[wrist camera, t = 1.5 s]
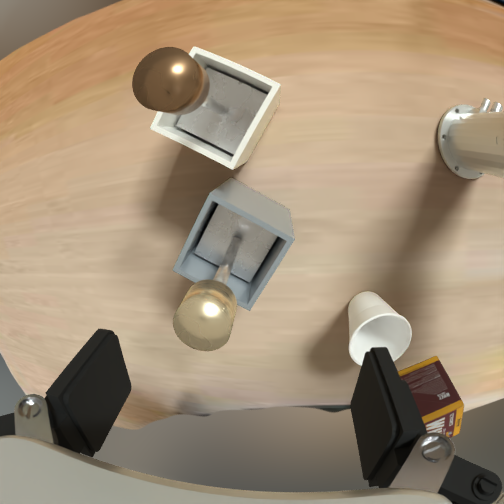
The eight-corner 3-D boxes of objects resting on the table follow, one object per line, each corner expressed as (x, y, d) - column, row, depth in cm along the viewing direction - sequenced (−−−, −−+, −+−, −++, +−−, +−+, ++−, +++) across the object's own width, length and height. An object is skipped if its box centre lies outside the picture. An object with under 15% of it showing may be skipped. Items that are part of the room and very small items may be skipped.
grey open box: (231, 177, 45) (209, 192, 31) (289, 209, 46) (294, 239, 32) (202, 233, 49) (172, 270, 35) (257, 263, 50) (249, 311, 36)
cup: (331, 328, 53) (341, 367, 42) (343, 277, 49) (358, 311, 39) (382, 330, 52) (399, 368, 42) (396, 282, 49) (420, 315, 39)
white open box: (219, 74, 40) (193, 46, 26) (279, 103, 41) (280, 84, 27) (188, 132, 43) (149, 128, 29) (247, 161, 44) (232, 169, 30)
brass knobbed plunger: (222, 196, 37) (169, 251, 19) (281, 228, 38) (283, 311, 19) (195, 251, 39) (133, 338, 21) (250, 280, 40) (228, 386, 22)
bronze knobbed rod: (208, 68, 32) (143, 6, 13) (268, 96, 32) (258, 45, 14) (177, 126, 34) (86, 116, 16) (235, 154, 35) (190, 167, 17)
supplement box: (370, 380, 57) (387, 437, 42) (436, 354, 54) (465, 404, 39) (376, 409, 60) (391, 462, 45) (437, 385, 57) (461, 433, 42)
